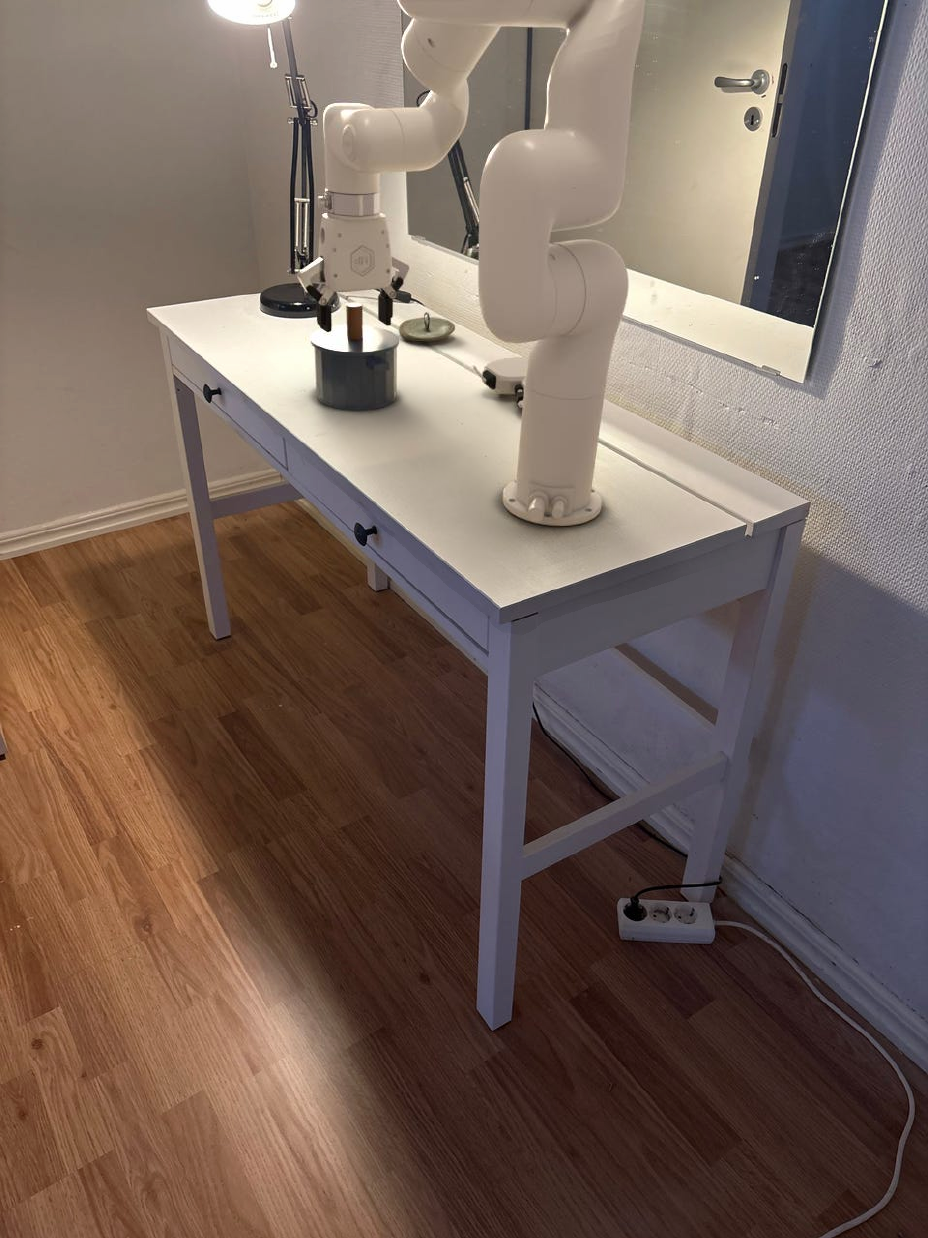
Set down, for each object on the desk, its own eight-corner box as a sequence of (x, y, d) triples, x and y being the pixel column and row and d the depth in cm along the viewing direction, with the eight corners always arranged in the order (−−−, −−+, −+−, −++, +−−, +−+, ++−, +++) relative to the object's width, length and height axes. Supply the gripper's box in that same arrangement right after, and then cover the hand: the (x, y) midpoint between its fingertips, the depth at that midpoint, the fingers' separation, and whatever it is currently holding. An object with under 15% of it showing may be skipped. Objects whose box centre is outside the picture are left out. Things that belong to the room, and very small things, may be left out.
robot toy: (582, 413, 146) (531, 376, 156) (587, 386, 143) (534, 350, 153) (517, 425, 140) (468, 386, 150) (521, 397, 138) (470, 359, 148)
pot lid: (333, 365, 133) (332, 321, 130) (296, 338, 143) (294, 297, 139) (414, 353, 139) (415, 311, 136) (374, 328, 149) (374, 288, 145)
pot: (345, 421, 136) (343, 365, 132) (297, 383, 149) (294, 330, 144) (418, 408, 142) (419, 354, 137) (366, 372, 154) (366, 321, 150)
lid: (458, 340, 176) (459, 313, 174) (449, 342, 166) (450, 313, 165) (404, 337, 177) (405, 310, 175) (392, 339, 168) (393, 310, 166)
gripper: (305, 212, 123) (311, 340, 133) (420, 206, 131) (417, 327, 140) (285, 202, 129) (292, 325, 138) (396, 196, 136) (396, 314, 146)
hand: (355, 326), depth 139 cm, fingers open, 9 cm apart
